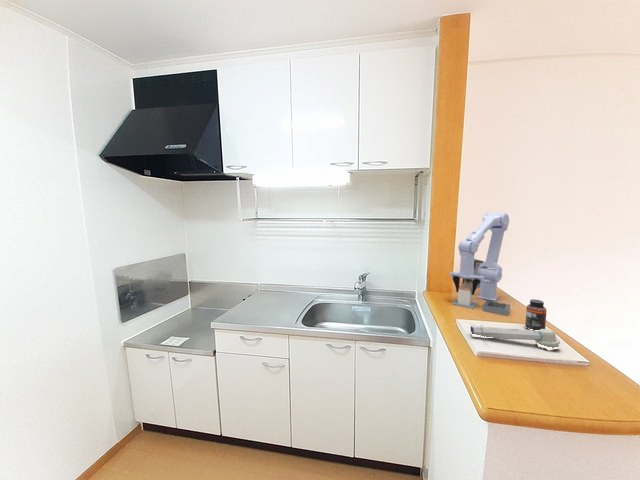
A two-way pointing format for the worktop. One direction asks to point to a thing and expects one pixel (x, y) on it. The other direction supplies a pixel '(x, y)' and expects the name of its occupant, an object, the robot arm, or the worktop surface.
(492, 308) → the frame
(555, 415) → the worktop surface
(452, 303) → the rubber mat
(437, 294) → the worktop surface
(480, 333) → the angled head flashlight
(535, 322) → the supplement bottle
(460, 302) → the beige pink box
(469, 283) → the coffee box
